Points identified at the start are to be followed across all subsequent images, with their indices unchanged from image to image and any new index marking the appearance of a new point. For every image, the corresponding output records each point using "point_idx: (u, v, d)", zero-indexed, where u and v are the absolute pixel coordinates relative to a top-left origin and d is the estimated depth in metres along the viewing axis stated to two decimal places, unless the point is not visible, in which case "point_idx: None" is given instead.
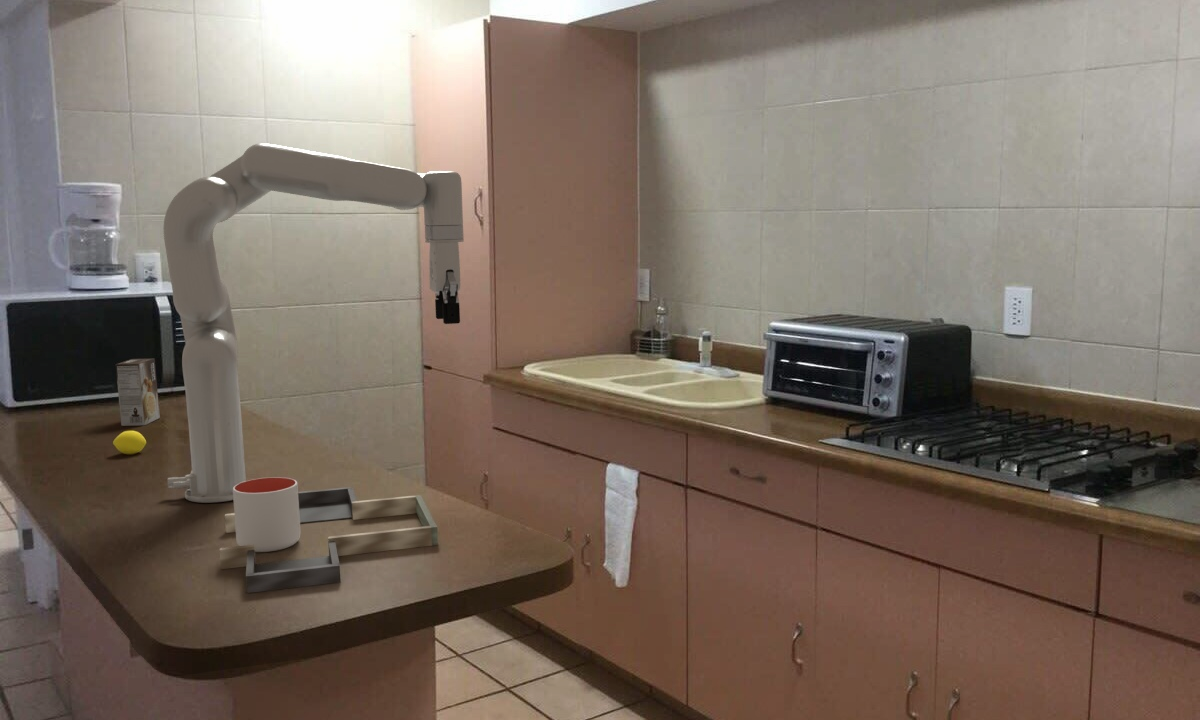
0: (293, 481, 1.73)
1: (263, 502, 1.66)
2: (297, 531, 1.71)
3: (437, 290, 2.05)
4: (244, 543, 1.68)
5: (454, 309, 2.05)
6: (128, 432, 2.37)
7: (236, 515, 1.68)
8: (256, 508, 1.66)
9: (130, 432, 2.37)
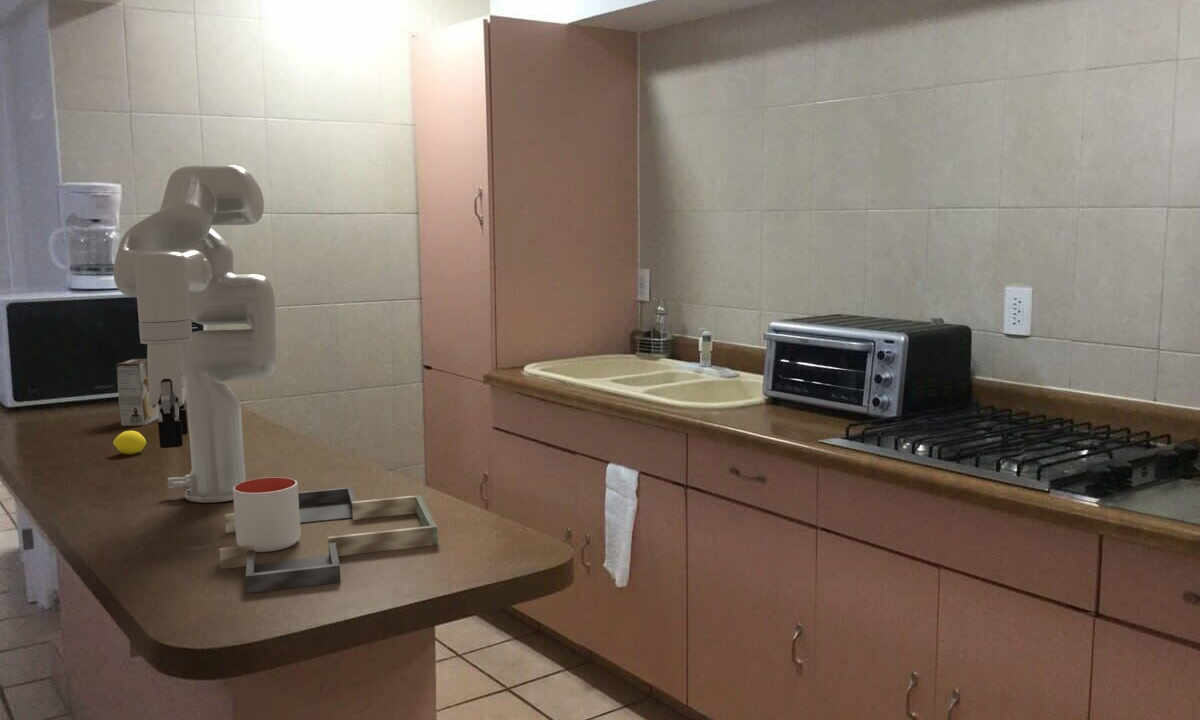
0: (293, 481, 1.73)
1: (263, 502, 1.66)
2: (297, 531, 1.71)
3: (150, 405, 1.59)
4: (244, 543, 1.68)
5: (173, 429, 1.59)
6: (128, 432, 2.37)
7: (236, 515, 1.68)
8: (256, 508, 1.66)
9: (130, 432, 2.37)
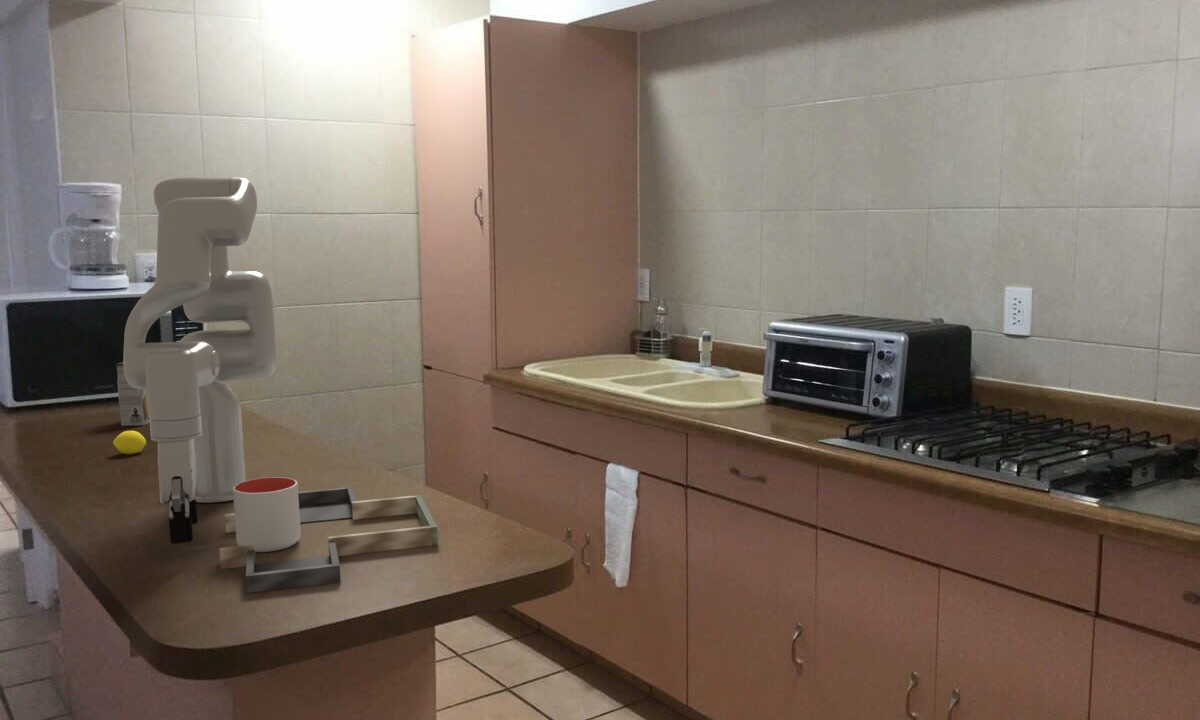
0: (293, 481, 1.73)
1: (263, 502, 1.66)
2: (297, 531, 1.71)
3: (161, 502, 1.62)
4: (244, 543, 1.68)
5: (183, 526, 1.62)
6: (128, 432, 2.37)
7: (236, 515, 1.68)
8: (256, 508, 1.66)
9: (130, 432, 2.37)
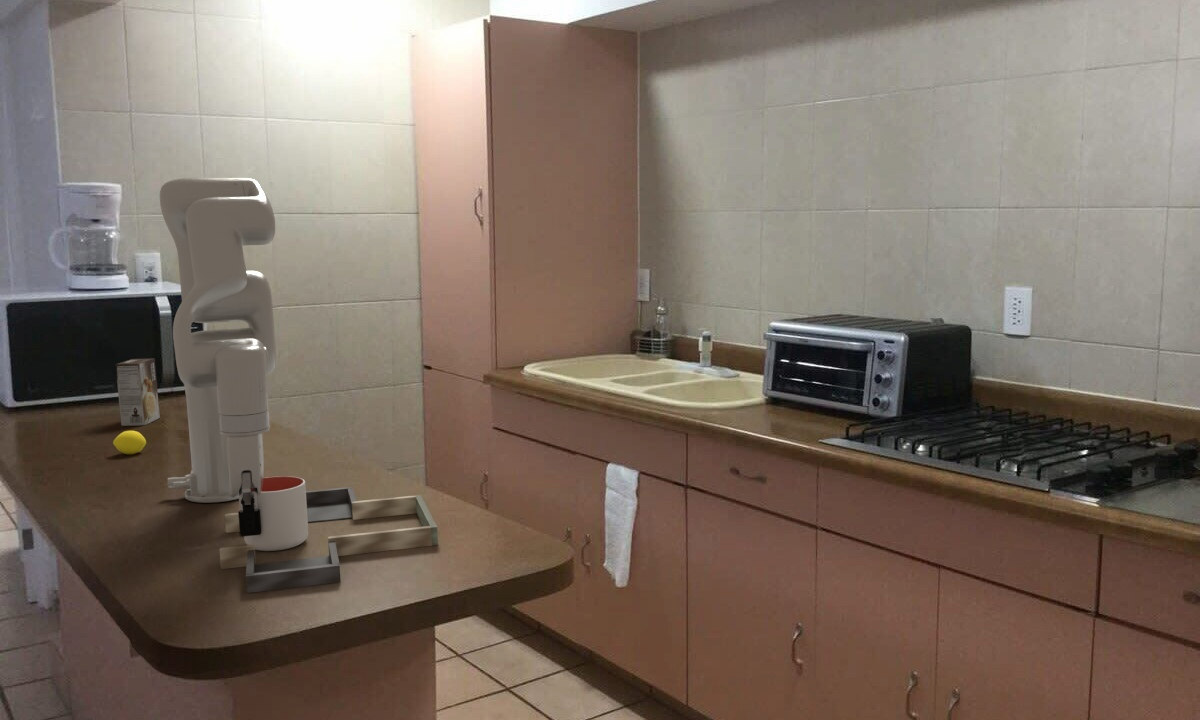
0: (301, 480, 1.74)
1: (271, 501, 1.66)
2: (305, 530, 1.71)
3: (231, 495, 1.65)
4: (251, 541, 1.68)
5: (252, 519, 1.65)
6: (128, 432, 2.37)
7: None
8: (264, 507, 1.66)
9: (130, 432, 2.37)
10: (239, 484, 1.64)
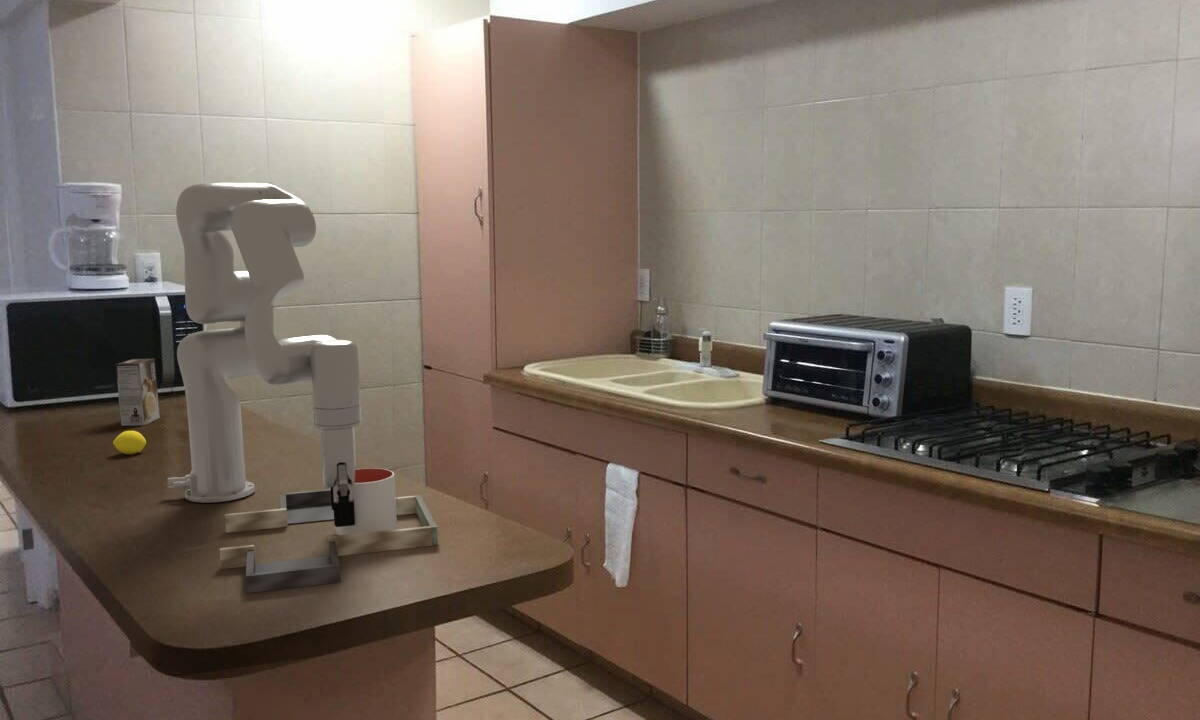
0: (389, 472, 1.78)
1: (364, 492, 1.71)
2: (394, 520, 1.75)
3: (326, 487, 1.69)
4: (344, 531, 1.72)
5: (347, 510, 1.69)
6: (128, 432, 2.37)
7: None
8: (358, 498, 1.71)
9: (130, 432, 2.37)
10: (334, 476, 1.69)
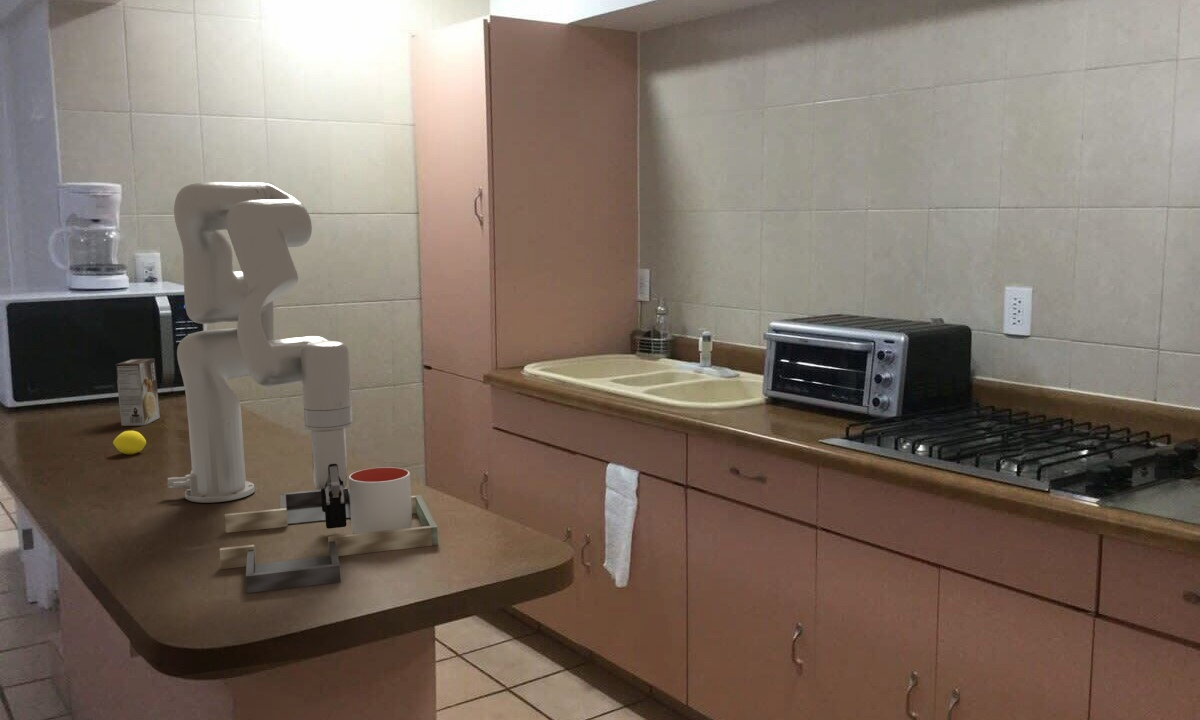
0: (405, 471, 1.79)
1: (380, 490, 1.71)
2: (410, 519, 1.76)
3: (318, 488, 1.69)
4: (360, 530, 1.73)
5: (339, 511, 1.69)
6: (128, 432, 2.37)
7: (353, 503, 1.73)
8: (374, 497, 1.71)
9: (130, 432, 2.37)
10: (326, 477, 1.68)
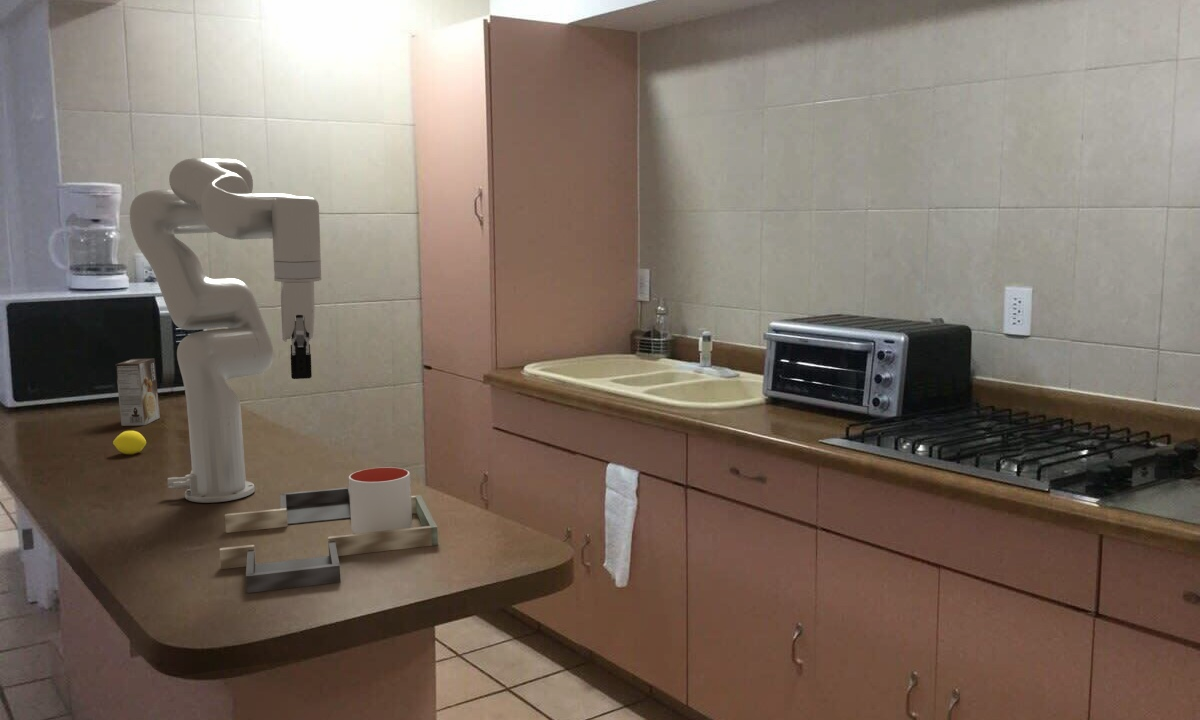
0: (404, 471, 1.79)
1: (380, 490, 1.71)
2: (410, 519, 1.76)
3: (284, 339, 1.72)
4: (360, 530, 1.73)
5: (304, 362, 1.72)
6: (128, 432, 2.37)
7: (353, 503, 1.73)
8: (374, 497, 1.71)
9: (130, 432, 2.37)
10: (292, 328, 1.72)
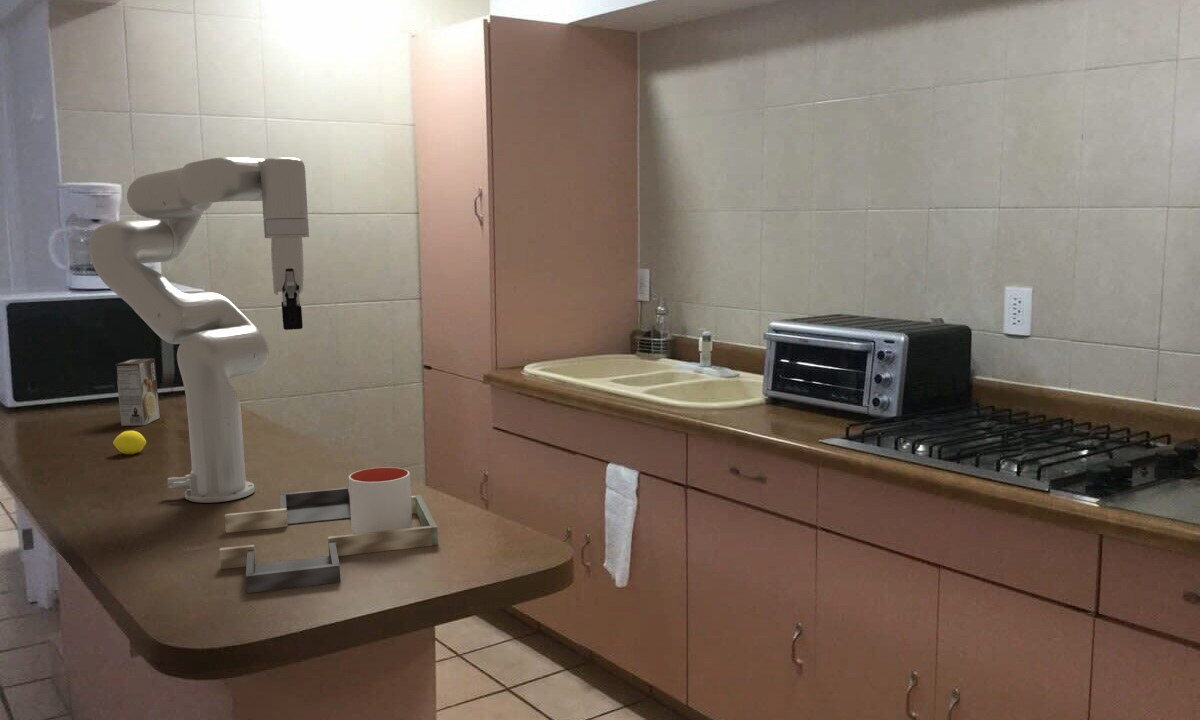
0: (404, 471, 1.79)
1: (380, 490, 1.71)
2: (410, 519, 1.76)
3: (275, 292, 1.82)
4: (360, 530, 1.73)
5: (295, 313, 1.82)
6: (128, 432, 2.37)
7: (353, 503, 1.73)
8: (374, 497, 1.71)
9: (130, 432, 2.37)
10: (283, 281, 1.81)
